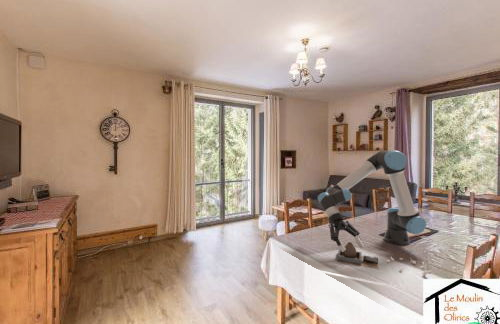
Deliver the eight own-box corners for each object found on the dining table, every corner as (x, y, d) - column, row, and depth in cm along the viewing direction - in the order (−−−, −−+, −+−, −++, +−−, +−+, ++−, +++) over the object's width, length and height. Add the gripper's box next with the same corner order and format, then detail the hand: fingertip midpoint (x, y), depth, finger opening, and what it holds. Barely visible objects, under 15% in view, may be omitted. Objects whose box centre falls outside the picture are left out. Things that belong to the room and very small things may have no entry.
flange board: (377, 260, 136) (377, 258, 136) (378, 271, 124) (378, 269, 124) (339, 253, 145) (339, 252, 145) (337, 263, 132) (337, 261, 132)
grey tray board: (377, 259, 136) (377, 254, 135) (378, 268, 125) (378, 262, 125) (339, 252, 144) (339, 247, 144) (337, 260, 133) (337, 255, 133)
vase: (340, 255, 139) (341, 240, 139) (352, 255, 140) (352, 240, 140) (346, 261, 132) (347, 245, 132) (358, 260, 133) (359, 245, 133)
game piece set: (440, 277, 119) (441, 269, 119) (402, 278, 117) (402, 270, 117) (411, 260, 138) (411, 253, 138) (377, 260, 137) (378, 254, 137)
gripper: (345, 217, 155) (364, 248, 142) (314, 220, 144) (332, 255, 131) (352, 210, 150) (373, 242, 137) (321, 214, 139) (340, 249, 126)
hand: (353, 249), depth 134 cm, fingers open, 13 cm apart
